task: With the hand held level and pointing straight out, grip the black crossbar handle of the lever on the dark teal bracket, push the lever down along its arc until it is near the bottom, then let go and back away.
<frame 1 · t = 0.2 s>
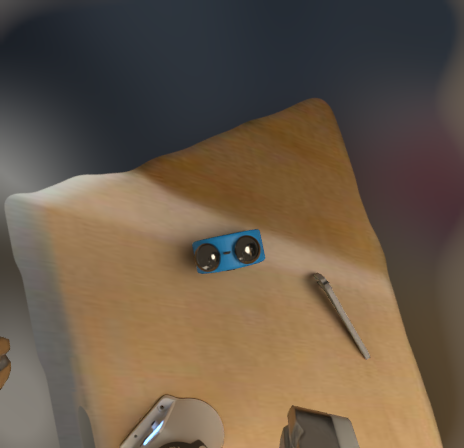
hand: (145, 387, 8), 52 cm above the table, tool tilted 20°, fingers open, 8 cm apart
alarm clock: (230, 249, 60), on the table
caliper: (340, 314, 59), on the table
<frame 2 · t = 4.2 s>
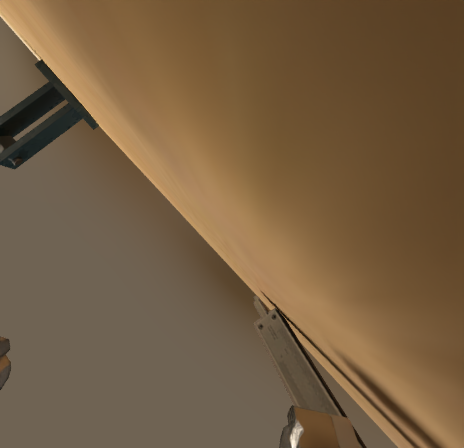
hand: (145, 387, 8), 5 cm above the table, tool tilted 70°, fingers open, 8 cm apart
bracket: (73, 96, 44), on the table
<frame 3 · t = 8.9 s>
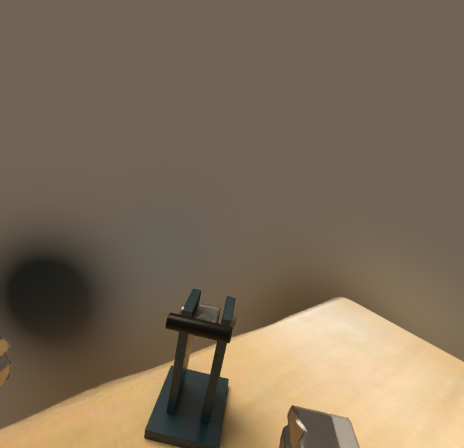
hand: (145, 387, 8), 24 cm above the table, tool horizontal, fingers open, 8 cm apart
lever: (204, 321, 26), point 15 cm above the table, hinge at 30.0°
bracket: (190, 408, 34), on the table
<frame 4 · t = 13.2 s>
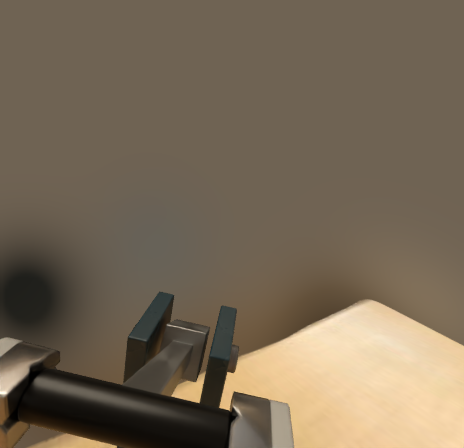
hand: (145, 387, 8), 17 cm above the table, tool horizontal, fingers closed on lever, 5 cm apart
lever: (169, 366, 12), point 15 cm above the table, hinge at 30.0°, touching gripper
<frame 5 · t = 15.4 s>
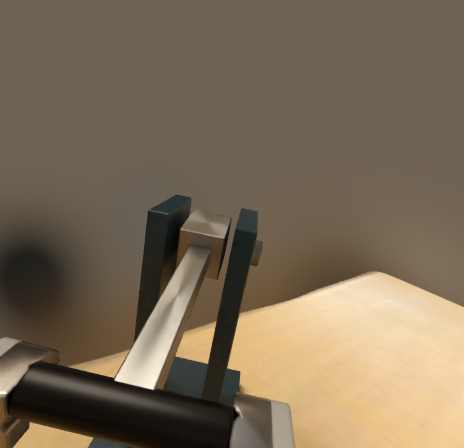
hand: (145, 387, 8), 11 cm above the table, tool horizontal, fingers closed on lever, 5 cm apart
lever: (183, 288, 11), point 12 cm above the table, hinge at -8.0°, touching gripper
bracket: (173, 424, 18), on the table
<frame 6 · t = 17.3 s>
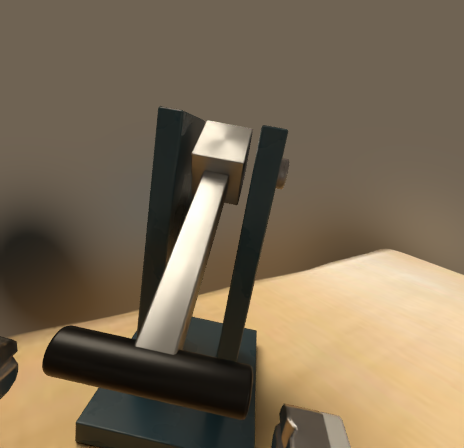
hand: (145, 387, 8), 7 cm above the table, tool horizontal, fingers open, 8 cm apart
lever: (200, 227, 10), point 11 cm above the table, hinge at -32.2°
bracket: (186, 380, 17), on the table
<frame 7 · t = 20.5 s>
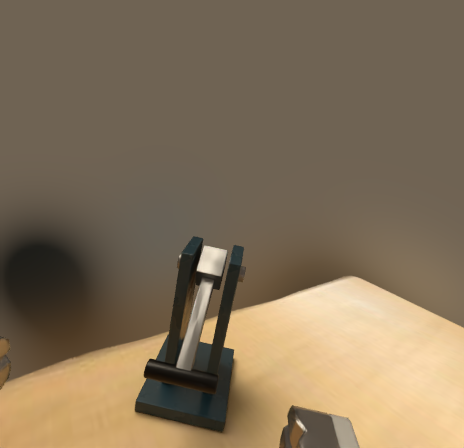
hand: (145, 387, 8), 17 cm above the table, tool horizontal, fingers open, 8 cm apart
lever: (200, 309, 22), point 11 cm above the table, hinge at -32.2°
bracket: (190, 380, 29), on the table
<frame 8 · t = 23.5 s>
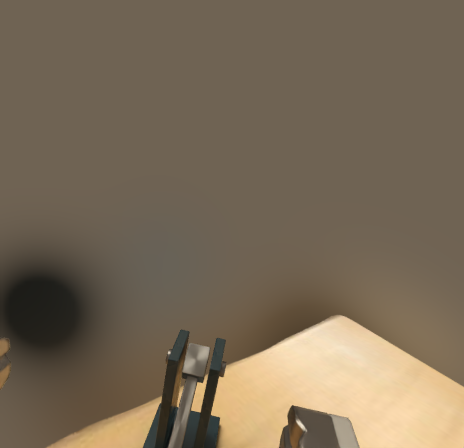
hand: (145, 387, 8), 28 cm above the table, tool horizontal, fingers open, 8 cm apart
lever: (184, 409, 26), point 11 cm above the table, hinge at -32.2°
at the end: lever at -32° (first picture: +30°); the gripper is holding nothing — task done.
